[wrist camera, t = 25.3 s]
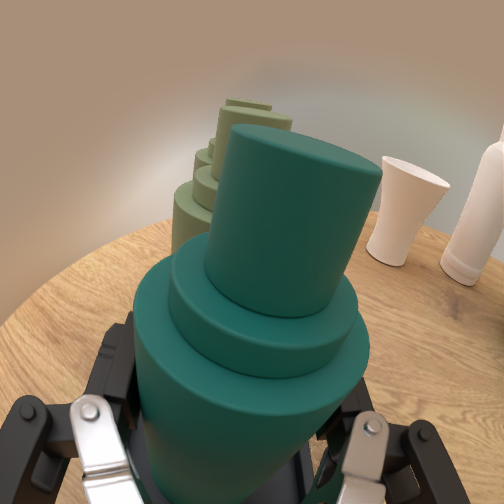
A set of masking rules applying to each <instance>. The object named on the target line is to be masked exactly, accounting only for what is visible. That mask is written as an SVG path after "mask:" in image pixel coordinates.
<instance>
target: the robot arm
mask: <svg viewBox="0 0 504 504" xmlns="http://www.w3.org/2000/svg"><path fill="white" fill-rule="evenodd" d="M140 409H141V407H140V399H139V390H138V381H137V370H136V358H135V343H134V324H133V311H130V312H129V314H128V316H127V319H126V322H125V325H124V324H118V323H115V324H114V325H113V326H112V327H111V328H110V329H109V330H108V331H107V332H106V333H105V336H104V338H103V341H102V345H101V346H100V349H99V352H98V356H97V357H96V360H95V363H94V366H93V369H92V372H91V375H90V378H89V381H88V384H87V387H86V389H85V392H84V393H83V395H82V396H80V397H78V398H77V399H76V400H75V401H74V402H72V403H69V404H54V405H45V404H44V403H43V402H42V401H41V400H40V399H39V398H38V397H35V396H32V395H25V396H22V397H20V398H19V399H17V400H16V401H15V403H14V404H13V406H12V408H11V410H10V412H9V413H8V415H7V417H6V419H5V421H4V423H3V425H2V427H1V429H0V504H55V501H56V498H57V495H58V492H59V489H60V487H61V484H62V481H63V478H64V475H65V473H66V470H67V467H68V465H69V462H70V459H71V458H78V457H79V458H80V461H81V465H82V469H83V476H82V484H83V488H84V491H85V494H86V497H87V500H88V503H89V504H153V502H152V500H151V498H150V496H149V494H148V492H147V490H146V489H145V487H144V484H143V482H142V480H141V478H140V475H139V473H138V470H137V468H136V465H135V463H134V460H133V458H132V455H131V452H130V449H129V447H128V444H127V436H128V430H129V429H133V430H137V426H138V420H139V415H140ZM316 438H317V440H327V444H328V446H327V448H326V449H325V451H324V454H323V457H322V460H321V463H320V465H319V468H318V471H317V473H316V476H315V479H314V481H313V484H312V486H311V489H310V491H309V492H308V494H307V495H306V496H305V498H304V499H303V501H302V502H301V504H383V501H384V498H385V501H386V503H387V504H470V501H469V499H468V497H467V494H466V492H465V490H464V487H463V485H462V483H461V480H460V478H459V476H458V474H457V472H456V469H455V467H454V465H453V463H452V461H451V459H450V457H449V455H448V452H447V450H446V448H445V446H444V444H443V442H442V440H441V438H440V436H439V434H438V432H437V430H436V428H435V427H434V426H433V425H432V424H431V423H430V422H428V421H426V420H417V421H415V422H413V423H412V424H411V425H410V426H403V425H397V424H391V423H388V422H387V420H386V419H385V418H384V417H383V416H382V415H381V414H379V413H377V412H375V410H374V408H373V405H372V402H371V399H370V396H369V393H368V390H367V387H366V384H365V381H364V378H363V377H362V378H361V379H360V381H359V382H358V383H357V385H356V386H355V387H354V388H353V390H352V391H351V392H350V393H349V395H348V396H347V397H346V398H345V400H344V401H343V402H342V403H341V404H340V406H339V407H338V408H337V409H336V410H335V412H334V413H333V414H332V415H331V416H330V417H329V418H328V420H327V421H326V422H325V423H324V424H323V425H322V426H321V427H320V429H319V430H318V431H317V432H316ZM410 465H411V467H410ZM411 468H412V469H411ZM412 470H413V472H414V474H413V472H412ZM414 475H415V476H414ZM415 477H416V479H415ZM416 480H417V481H416ZM417 482H418V484H419V486H418V484H417ZM419 487H420V488H419Z"/></svg>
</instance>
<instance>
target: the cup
mask: <svg viewBox="0 0 504 504" xmlns="http://www.w3.org/2000/svg"><path fill="white" fill-rule="evenodd" d="M382 171H383V176H382V196H381V205H380V211H379V215H378V218H377V222H376V225H375V229H374V231H373V233H372V235H371V237H370V239H369V241H368V243H367V245H366V248H367V251H368V252H369V253H370V254H371V255H372V256H373V257H374V258H376V259H377V260H379V261H381V262H383V263H385V264H388V265H392V266H401V265H403V264H404V263H405V260H406V257H407V254H408V251H409V248H410V246H411V244H412V242H413V240H414V238H415V236H416V234H417V232H418V231H419V229H420V227H421V226H422V224H423V222H424V221H425V219H426V218H427V217H428V216H429V214H430V213H431V212H432V210H433V209H434V208H435V206H436V205H437V204H438V203H439V201H440V200H441V198H442V197H443V196H444V195H445V194H446V192H447V191H448V190H449V188H450V185H449V184H448V183H447V182H446V181H444V180H443V179H441V178H439V177H438V176H436V175H434V174H432V173H430V172H428V171H426V170H424V169H422V168H420V167H418V166H415V165H413V164H410V163H407V162H405V161H402V160H398V159H395V158H391V157H386V156H383V157H382Z"/></svg>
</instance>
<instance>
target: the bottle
mask: <svg viewBox="0 0 504 504" xmlns="http://www.w3.org/2000/svg"><path fill="white" fill-rule="evenodd" d="M503 227H504V125H503V129H502V133H501V137H500V141H499V142H497V143H494V144H492V145H490V146H489V147H488V148H487V150H486V151H485V152H484V154H483V156H482V158H481V162H480V165H479V168H478V171H477V174H476V177H475V180H474V183H473V185H472V188H471V191H470V194H469V196H468V199H467V201H466V204H465V206H464V209H463V211H462V214H461V216H460V219H459V221H458V224H457V226H456V228H455V230H454V233H453V235H452V237H451V239H450V241H449V244H448V246H447V247H446V249H445V251H444V253H443V256H442V258H441V260H440V265H441V267H442V269H443V270H444V271H445V273H446V274H447V275H448V276H450V277H451V278H452V279H454V280H455V281H457V282H459V283H461V284H463V285H466V286H472V285H475V283H476V281H477V279H479V277H480V275H481V273H482V271H483V269H484V267H485V265H486V263H487V261H488V259H489V257H490V255H491V253H492V251H493V249H494V247H495V245H496V243H497V241H498V238H499V236H500V234H501V232H502V230H503Z"/></svg>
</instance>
